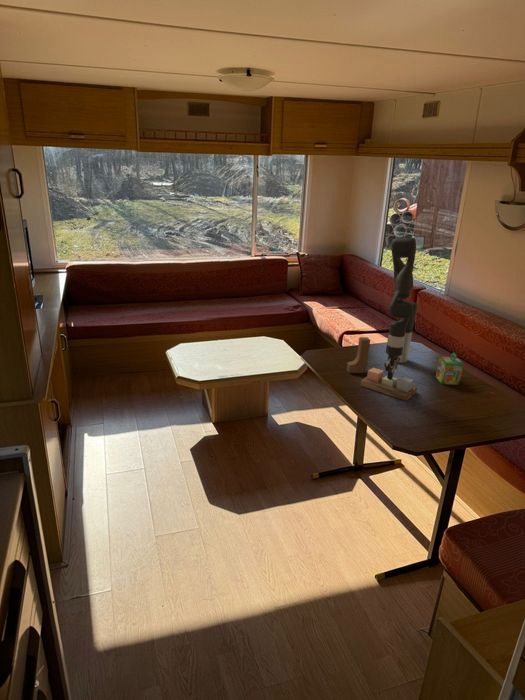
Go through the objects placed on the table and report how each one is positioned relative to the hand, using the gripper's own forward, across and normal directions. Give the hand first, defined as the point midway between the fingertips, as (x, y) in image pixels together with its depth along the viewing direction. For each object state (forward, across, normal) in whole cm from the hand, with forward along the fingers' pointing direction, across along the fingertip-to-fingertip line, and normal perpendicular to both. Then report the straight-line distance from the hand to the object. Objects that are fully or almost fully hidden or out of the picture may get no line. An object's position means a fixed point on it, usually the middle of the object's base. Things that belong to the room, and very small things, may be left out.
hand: (389, 378), depth 234 cm
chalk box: (+6, -31, +18) cm, 36 cm away
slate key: (+3, 0, +8) cm, 8 cm away
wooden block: (+6, -8, -21) cm, 24 cm away
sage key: (+5, 0, 0) cm, 5 cm away
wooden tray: (+6, 0, 0) cm, 6 cm away
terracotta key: (+3, 0, -7) cm, 8 cm away
